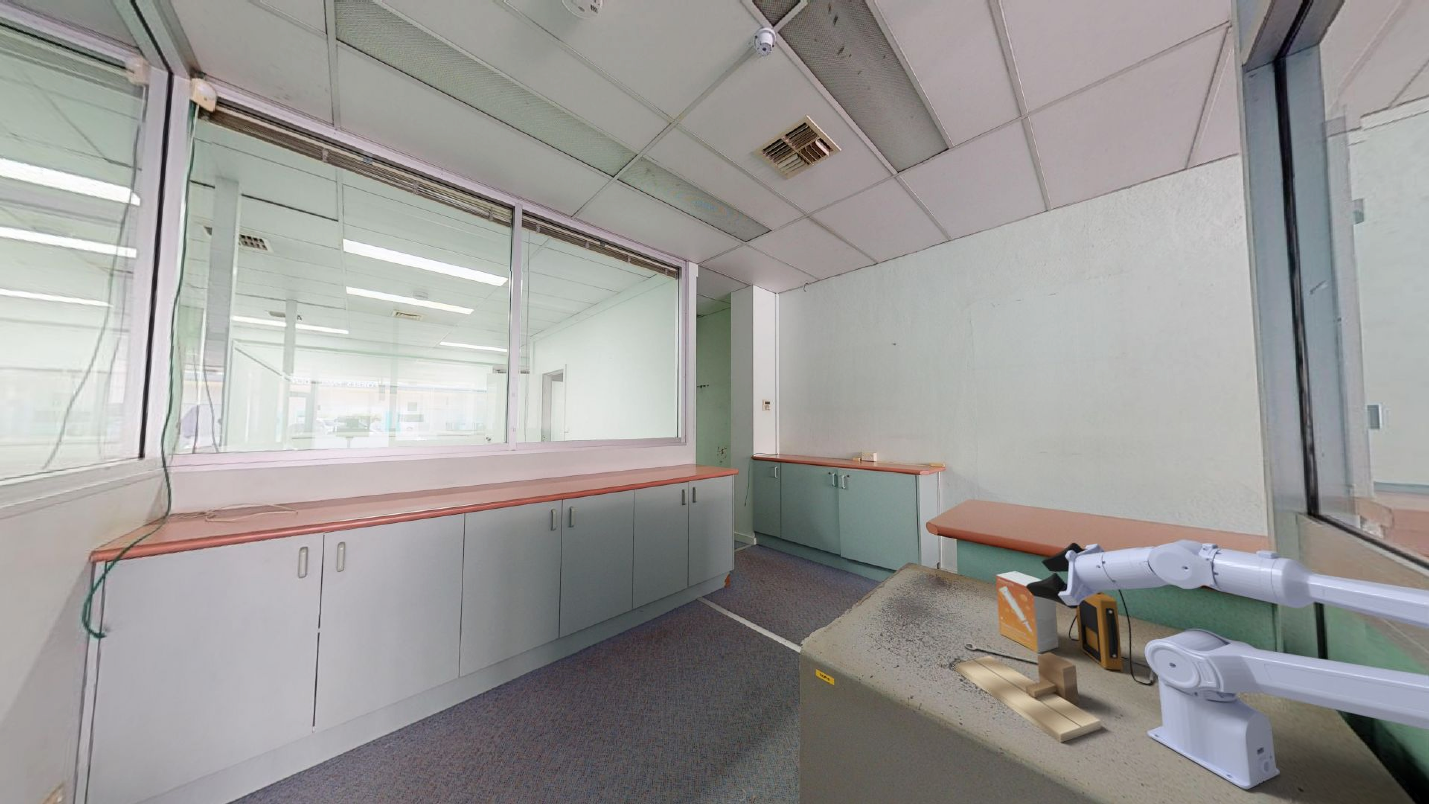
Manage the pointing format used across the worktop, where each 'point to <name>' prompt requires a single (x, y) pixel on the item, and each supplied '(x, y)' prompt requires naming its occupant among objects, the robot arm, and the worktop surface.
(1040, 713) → the board
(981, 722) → the worktop surface
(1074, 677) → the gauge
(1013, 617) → the small box
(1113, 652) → the multimeter
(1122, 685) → the worktop surface
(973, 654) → the worktop surface
